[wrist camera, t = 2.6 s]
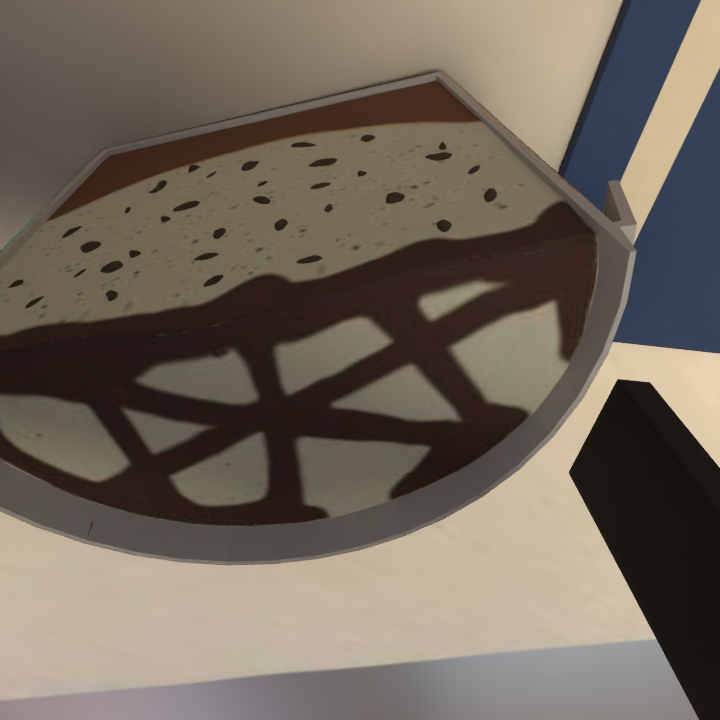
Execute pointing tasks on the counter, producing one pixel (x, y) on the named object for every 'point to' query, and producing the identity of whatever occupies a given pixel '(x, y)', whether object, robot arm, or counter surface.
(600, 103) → the cloth
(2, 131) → the counter surface
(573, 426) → the counter surface
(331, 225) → the food container
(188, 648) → the counter surface
